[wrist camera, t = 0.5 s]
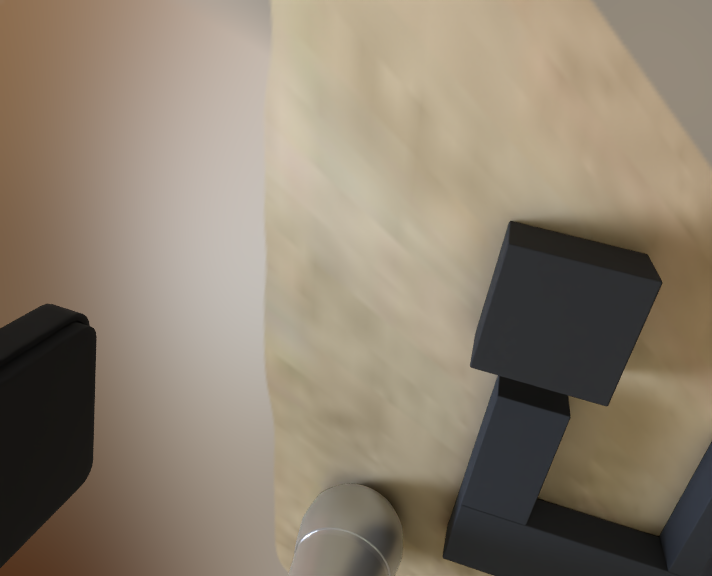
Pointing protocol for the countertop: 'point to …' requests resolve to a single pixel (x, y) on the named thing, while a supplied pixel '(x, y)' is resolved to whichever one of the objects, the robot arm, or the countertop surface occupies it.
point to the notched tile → (552, 522)
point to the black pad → (563, 312)
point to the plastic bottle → (348, 535)
